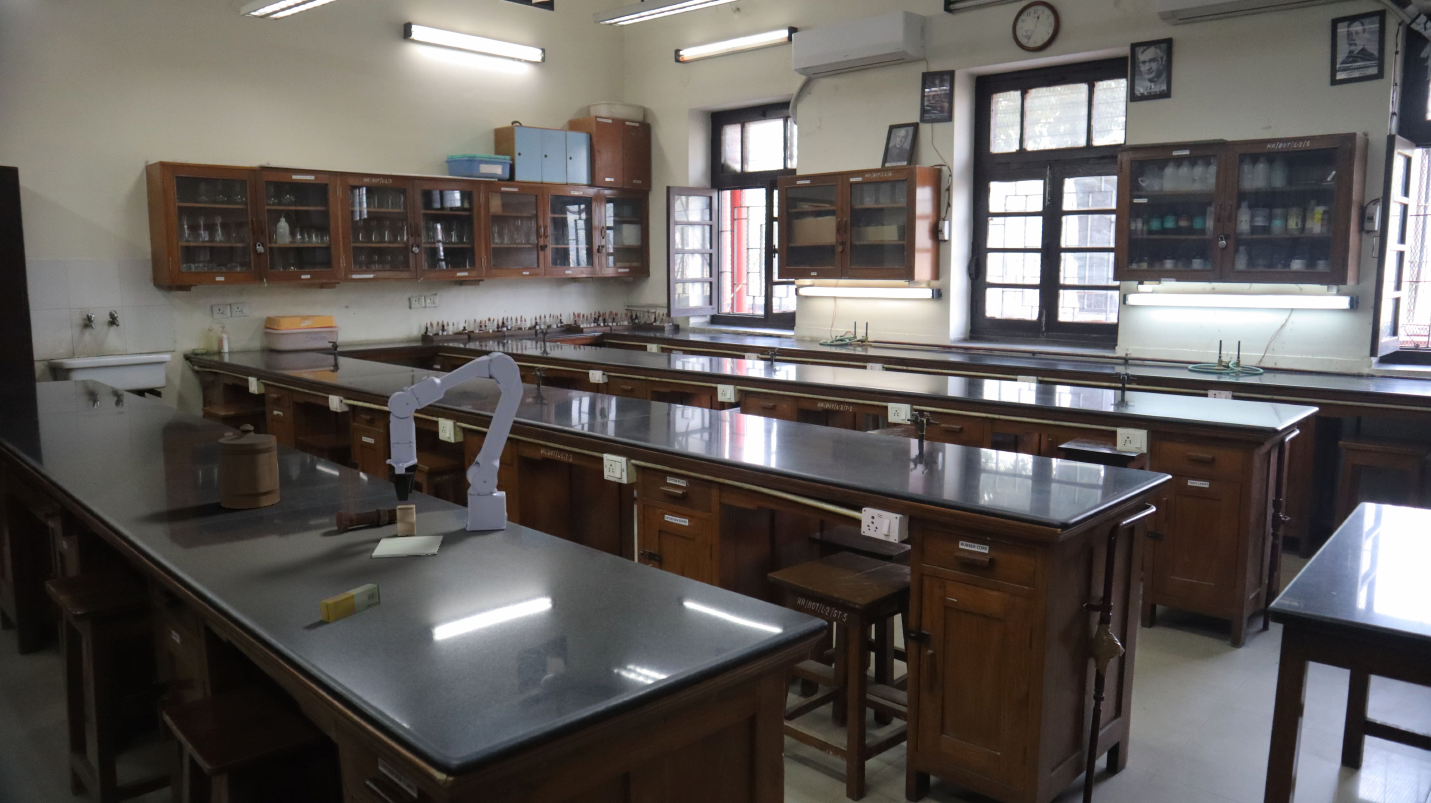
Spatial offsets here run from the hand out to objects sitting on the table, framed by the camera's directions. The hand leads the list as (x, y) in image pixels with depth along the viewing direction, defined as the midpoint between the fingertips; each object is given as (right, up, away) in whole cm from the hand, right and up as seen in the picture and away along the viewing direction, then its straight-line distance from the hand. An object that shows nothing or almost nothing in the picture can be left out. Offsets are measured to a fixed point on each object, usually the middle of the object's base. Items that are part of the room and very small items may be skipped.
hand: (405, 496), depth 235 cm
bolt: (-12, -9, +9) cm, 17 cm away
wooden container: (-53, -5, +32) cm, 62 cm away
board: (+4, -11, -10) cm, 15 cm away
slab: (0, -9, +1) cm, 9 cm away
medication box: (+6, -17, -52) cm, 55 cm away
